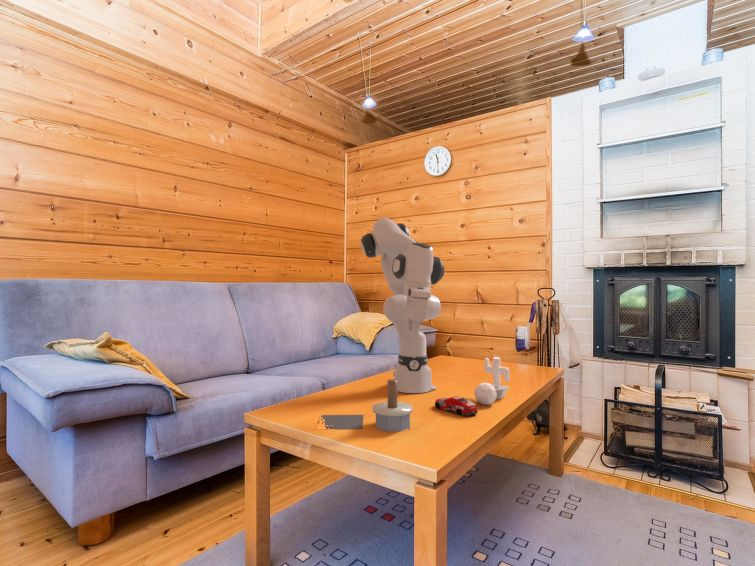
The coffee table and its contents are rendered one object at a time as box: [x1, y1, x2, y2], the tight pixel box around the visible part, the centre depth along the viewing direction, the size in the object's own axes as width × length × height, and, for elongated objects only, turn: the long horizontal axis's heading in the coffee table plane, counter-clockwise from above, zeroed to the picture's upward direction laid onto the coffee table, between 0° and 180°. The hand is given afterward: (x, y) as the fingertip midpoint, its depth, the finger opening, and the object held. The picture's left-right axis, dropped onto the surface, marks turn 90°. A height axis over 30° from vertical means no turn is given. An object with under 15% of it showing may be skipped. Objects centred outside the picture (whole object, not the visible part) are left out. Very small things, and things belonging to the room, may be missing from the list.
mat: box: [321, 414, 364, 430], centre depth 133 cm, size 14×14×1 cm
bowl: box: [375, 413, 411, 432], centre depth 129 cm, size 10×10×5 cm
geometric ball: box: [473, 382, 497, 406], centre depth 154 cm, size 8×8×8 cm
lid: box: [372, 378, 413, 416], centre depth 129 cm, size 12×12×9 cm
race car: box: [434, 395, 478, 417], centre depth 146 cm, size 16×7×5 cm, turn 37°
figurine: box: [483, 356, 510, 400], centre depth 164 cm, size 7×9×15 cm
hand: (412, 333), depth 142 cm, fingers open, 8 cm apart
